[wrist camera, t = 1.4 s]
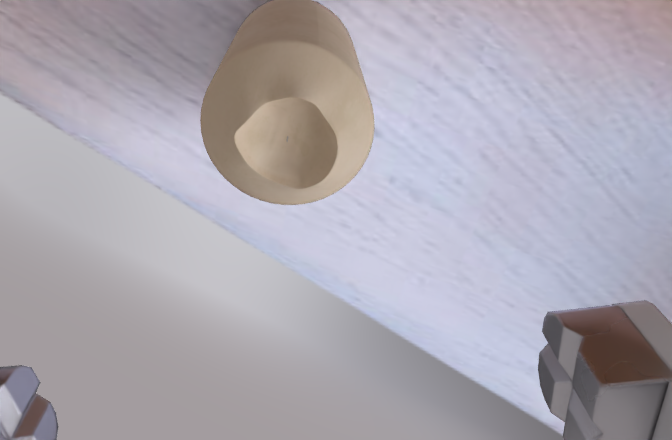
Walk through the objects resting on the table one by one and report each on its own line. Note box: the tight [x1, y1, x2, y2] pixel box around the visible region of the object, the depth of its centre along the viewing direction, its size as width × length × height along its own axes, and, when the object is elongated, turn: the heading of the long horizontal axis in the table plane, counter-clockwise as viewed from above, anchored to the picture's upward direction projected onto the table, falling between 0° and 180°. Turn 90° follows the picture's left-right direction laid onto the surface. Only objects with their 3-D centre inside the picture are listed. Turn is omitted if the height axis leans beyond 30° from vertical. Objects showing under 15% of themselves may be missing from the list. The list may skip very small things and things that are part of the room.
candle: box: [200, 0, 374, 205], centre depth 20 cm, size 6×6×10 cm
